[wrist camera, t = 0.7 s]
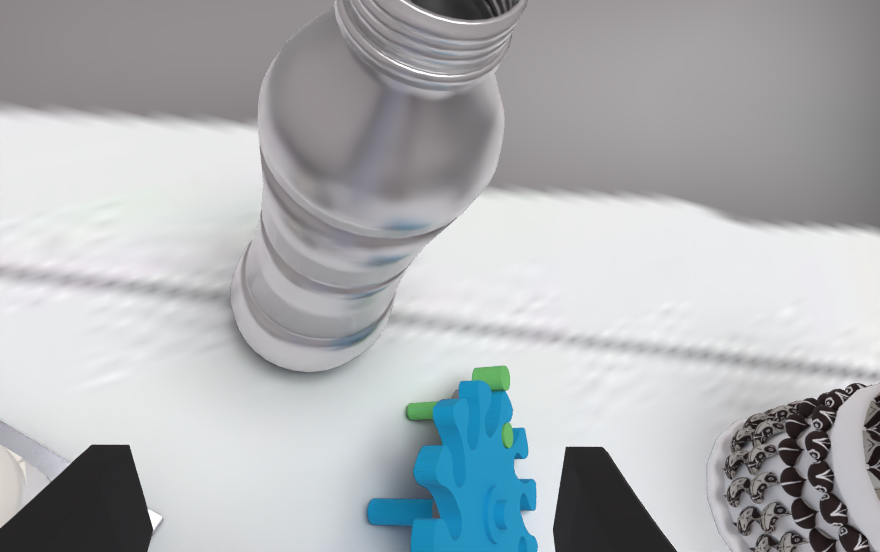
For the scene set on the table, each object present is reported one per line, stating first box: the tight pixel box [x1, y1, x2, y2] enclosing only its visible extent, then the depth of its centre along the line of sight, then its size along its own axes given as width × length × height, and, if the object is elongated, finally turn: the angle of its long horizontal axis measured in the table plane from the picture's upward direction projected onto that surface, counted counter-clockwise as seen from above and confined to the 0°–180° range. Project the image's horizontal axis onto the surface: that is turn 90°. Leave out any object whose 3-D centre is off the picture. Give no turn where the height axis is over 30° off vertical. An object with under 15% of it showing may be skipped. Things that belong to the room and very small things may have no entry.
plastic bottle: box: [230, 0, 528, 372], centre depth 22 cm, size 6×7×20 cm
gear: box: [368, 366, 538, 552], centre depth 27 cm, size 11×6×10 cm
